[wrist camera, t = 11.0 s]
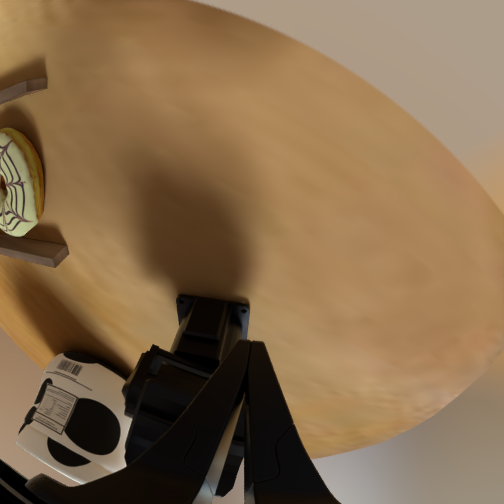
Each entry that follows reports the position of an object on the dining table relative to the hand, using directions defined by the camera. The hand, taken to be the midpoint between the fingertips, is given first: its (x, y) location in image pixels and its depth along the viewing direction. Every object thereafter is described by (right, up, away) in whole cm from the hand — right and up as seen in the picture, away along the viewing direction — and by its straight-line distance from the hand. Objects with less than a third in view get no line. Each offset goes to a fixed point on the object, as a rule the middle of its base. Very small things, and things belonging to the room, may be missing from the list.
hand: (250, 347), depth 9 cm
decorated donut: (-23, +11, +11) cm, 28 cm away
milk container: (-23, -16, +27) cm, 39 cm away
